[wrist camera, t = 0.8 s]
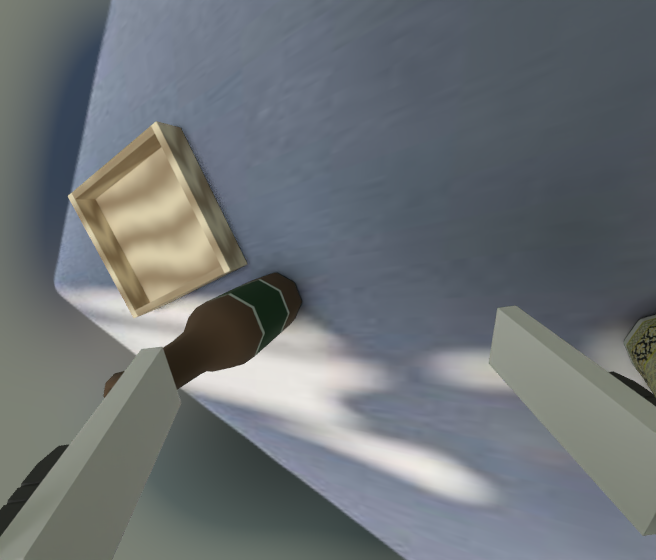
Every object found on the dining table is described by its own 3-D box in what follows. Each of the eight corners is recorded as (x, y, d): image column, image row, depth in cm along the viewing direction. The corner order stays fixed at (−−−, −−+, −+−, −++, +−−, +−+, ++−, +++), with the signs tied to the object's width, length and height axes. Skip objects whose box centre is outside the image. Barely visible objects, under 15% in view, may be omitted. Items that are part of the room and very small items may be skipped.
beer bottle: (303, 327, 44) (170, 463, 22) (254, 320, 46) (88, 435, 24) (303, 273, 42) (156, 362, 20) (251, 268, 44) (67, 342, 22)
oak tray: (94, 196, 50) (67, 196, 46) (180, 127, 42) (156, 121, 38) (155, 309, 52) (133, 318, 48) (247, 264, 44) (230, 270, 40)
